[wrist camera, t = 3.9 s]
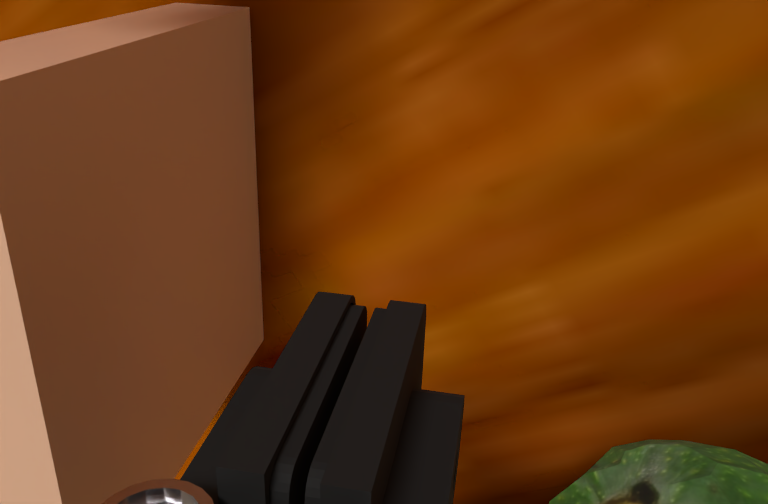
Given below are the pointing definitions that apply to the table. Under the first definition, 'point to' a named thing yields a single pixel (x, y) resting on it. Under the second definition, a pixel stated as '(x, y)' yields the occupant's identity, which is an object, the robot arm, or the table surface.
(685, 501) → the fruit
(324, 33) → the table surface
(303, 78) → the table surface
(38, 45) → the tile
